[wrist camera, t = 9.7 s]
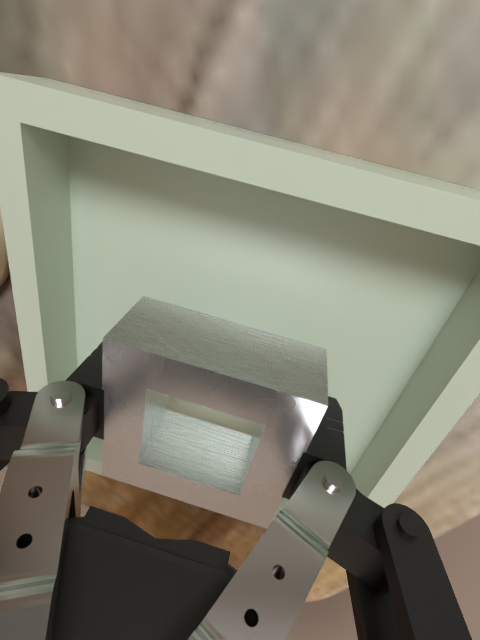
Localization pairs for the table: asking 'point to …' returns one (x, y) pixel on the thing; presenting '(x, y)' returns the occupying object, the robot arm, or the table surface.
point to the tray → (243, 259)
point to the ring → (212, 392)
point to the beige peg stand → (3, 255)
